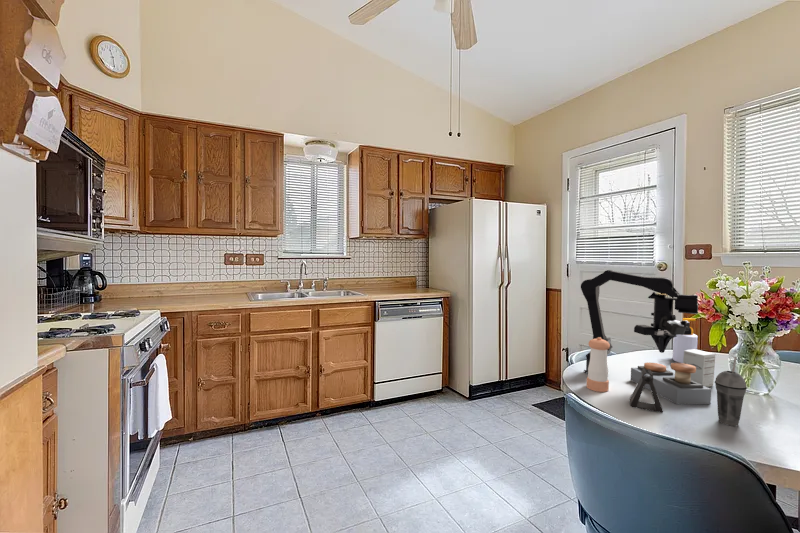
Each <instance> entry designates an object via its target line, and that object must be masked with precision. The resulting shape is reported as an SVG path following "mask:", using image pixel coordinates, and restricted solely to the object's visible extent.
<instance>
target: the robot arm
mask: <svg viewBox="0 0 800 533" xmlns="http://www.w3.org/2000/svg"><path fill="white" fill-rule="evenodd" d="M609 281H613V282H618V283H622V284H627V285H628V284H629V285H635V286H638V287H643V288H646V289H648V290H650V291H653V292H652V293H651V294H650V295H649V296H648V297H647V299H653V300H654V301H653V312H651V313H650V316H653V322H652V323H650V325H647V324H636V325H635V326H634V328H633V332H634V333H636V334H640V335H643V336H651V339H653V342H654V343H655V346H656V348H657V350H658V352H659V353H661V354H662V353H664V352H665V351H666V349H667V346H668V344H669V343H670V341H671V340H672V339H673V338H674V337H677V335H691V331H692V330H691V328H692V327H691V324H690V323H691V321H690V322H688V321H683V320H681V321H680V320H677V316H676V314H673V309H674V310H676V311H677V313H682V314H691V315H692V314H693V315H698V313H699V303H698V302H699V300H698V299H699V298H698V297H699V296H698V295H697V294H681V293H680V292H679V291H677V289H676V288H675V284H674V281H673V280H672V279H671V278H668V277H663V276H661V277H660V276H658V277H657V276H643V275H636V274H632V273H631V274H630V273H626V272H621V271H615V270H612V269H608V270H607V269H606V270H605V271H603V272H602V273H601V274H598V275H596V276H595V277H593V278H588V279H585V280H583V281H582V282H581V283H580V290H581V292H582V295H583V297H584V299H585V300H586V303H587V308H588V309H587V310H588V313H589V314H588V315H589V319H590V326H591V330H592V331H591V332H592V339H597V337H601V338H602V339H603V340H606V341H608V343H609V344H610V347H609V349H608V350H607V356H608V355H610V353H611V351H612V348H613V345H612V339H611V337H608V338H607V336H606V334H605V330H604V323H603V318H602V313H601V307H600V306H601V305H600V301H599V298H600V287H601V286H603V285H605V284H606V283H608V282H609ZM658 293H659V294H658ZM666 295H667V296H666ZM668 296H669V297H668ZM673 301H674V302H673ZM673 305H674V308H673ZM690 327H691V328H690ZM590 352H591V350H590V351H589V352H588V353H586V354H585V357H586V358H585V359H586V360H585V361H586V363H585V365H586V366H585V369H584V370H583V372H584V371H585V372H584V373H586V374H588V367H589V362H590Z"/></svg>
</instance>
